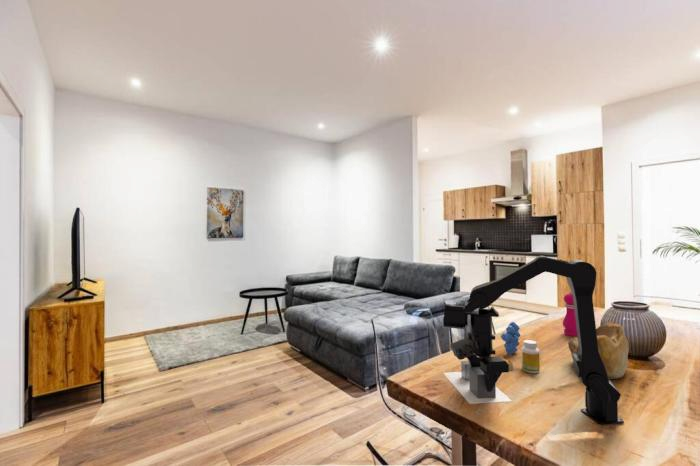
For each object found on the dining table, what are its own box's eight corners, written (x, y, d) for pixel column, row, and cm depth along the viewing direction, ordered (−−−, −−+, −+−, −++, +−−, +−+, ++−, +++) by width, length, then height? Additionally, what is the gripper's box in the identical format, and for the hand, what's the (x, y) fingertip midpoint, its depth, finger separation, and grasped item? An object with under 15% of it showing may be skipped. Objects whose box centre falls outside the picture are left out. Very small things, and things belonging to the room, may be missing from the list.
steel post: (473, 379, 105) (472, 364, 105) (464, 380, 105) (464, 364, 105) (469, 376, 107) (469, 360, 107) (461, 376, 107) (461, 361, 107)
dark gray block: (495, 397, 94) (495, 373, 94) (477, 398, 93) (477, 374, 93) (486, 388, 99) (486, 366, 99) (469, 389, 98) (469, 367, 98)
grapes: (506, 347, 137) (505, 317, 137) (524, 351, 132) (523, 320, 132) (495, 355, 128) (494, 323, 128) (514, 359, 124) (513, 327, 124)
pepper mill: (559, 333, 153) (558, 289, 153) (569, 331, 156) (568, 288, 156) (575, 337, 147) (574, 292, 147) (585, 335, 150) (584, 290, 150)
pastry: (484, 372, 114) (484, 361, 114) (483, 365, 120) (483, 354, 120) (515, 375, 111) (515, 364, 111) (512, 367, 117) (512, 356, 117)
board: (512, 405, 92) (512, 401, 92) (469, 408, 91) (469, 403, 91) (478, 374, 112) (478, 370, 112) (443, 376, 111) (443, 372, 111)
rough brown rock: (582, 355, 129) (577, 316, 129) (638, 365, 115) (632, 321, 116) (556, 374, 114) (551, 329, 115) (616, 387, 101) (610, 337, 102)
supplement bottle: (542, 374, 111) (541, 344, 111) (524, 373, 112) (524, 343, 112) (536, 367, 116) (536, 339, 116) (519, 366, 117) (519, 338, 117)
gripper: (442, 322, 105) (443, 372, 105) (468, 342, 86) (469, 403, 86) (476, 321, 106) (477, 370, 106) (509, 340, 87) (510, 400, 87)
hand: (482, 384), depth 96 cm, fingers open, 8 cm apart
